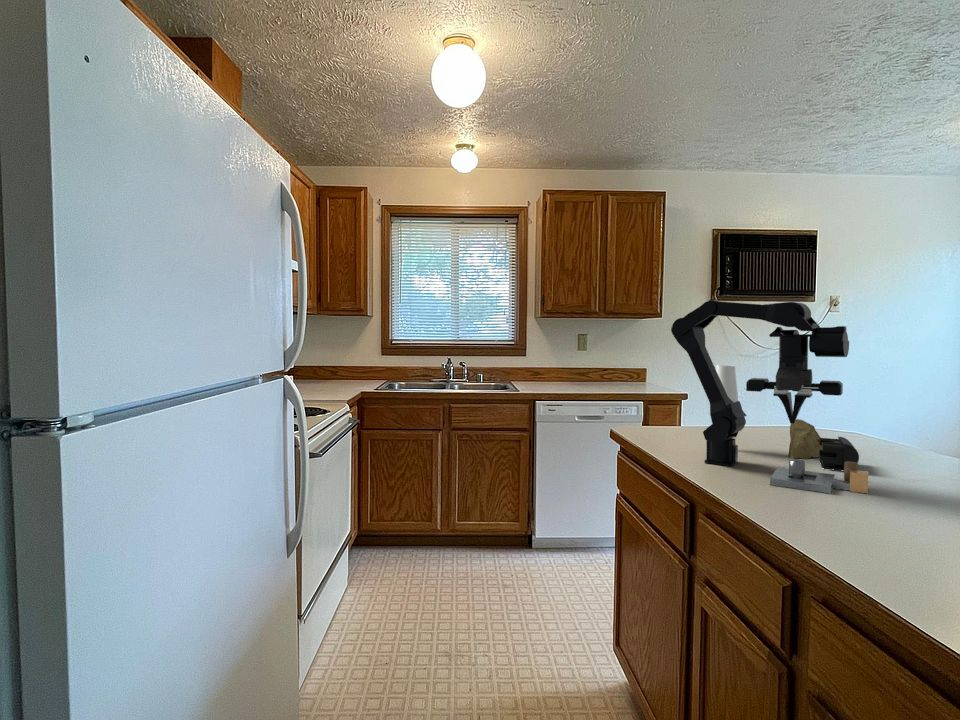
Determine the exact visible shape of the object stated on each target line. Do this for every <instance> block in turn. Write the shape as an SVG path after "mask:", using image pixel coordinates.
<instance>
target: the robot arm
mask: <svg viewBox="0 0 960 720" xmlns="http://www.w3.org/2000/svg"><path fill="white" fill-rule="evenodd" d="M718 316H720V317H728V318H729V317H730V318H739V319H740V318H743V319H752V320H761V321H765V322H768V323H771V324H775V325H777V327H775V329H774V330H773V331H772V332H771V333H769V337H770V338H779V340H778V341H779V343H778V344H779V345H778V348H779V349H778V369H777V372H776V375H775V381H770V380H769V378H764V377H763V378H762V377H760V378H759V377H751V378H749V379H748V380H747V381H746V385H745V387H746V389H745V391H747V392H762V391H763V390H773V391H774V392H773V394H772V395H773V396H774V397H778V399H779V400H780V401H781V403H782V405H783V407H784V409H785V412H786V415H787V418H788V420H789V423H790V424H791V423H793V424H794V423H795V421H796V420H797V419H798V415H799V413H800V411H801V409H802V406H803V404H804V402H805V401H806V399H808V398H812V397H813V392H820V393H821V394H822V395H824V396H842V395H843V393H844V391H843V390H844V389H843V388H844V385H843V382H842V381H840V380H824V379H823V380H821V381H819V383H818V382H816V383H815V382H814V383H813V371H812V368H810V369H809V364H808V363H809V361H808V360H809V352H810V353H812V354H814V356H815V357H817V358H819V357H820V358H821V357H822V358H831V357H832V358H833V357H834V358H847V357H848V354H849V350H850V341H849V336H848V332H847V326H846V325H840V326H838V325H837V326H832V327H831V326H829V327H821V326H820V325H819V324H818V322H817V321H816V320H815V319H814V318H813V317H812V312H811V309H810V307H809V306H808V305H807V304H806V303H803V302H795V301H787V302H775V303H767V304H756V303H747V302H746V303H745V302H730V301H720V300H715V299H708V300H706V301H704V302H703V303H702V304H701V305H700V306H698V307H697V308H695V309H693V310H692V311H690V312H688V314H686V315H684V316H683V317H680V318H677V319H676V320H674V321H673V323H672V325H671V328H670V329H671V330H670V331H671V334H672V336H673V337H674V339H675V340H676V342H677V343H678V345H680V347H681V348H682V349H683V350H684V351H685V352H686V353H687V354H688V356H689V358H690V359H689V360H690V361H691V363H692V365H693V368H694V370H695V372H696V375H697V377H698V379H699V382H700V383H701V386H702V389H703V391H704V393H705V395H706V397H707V399H708V402H709V416H710V420H711V425H709V426H708V427H707V428H706V429H704V430H703V431H702V433H703V436H704V440H705V441H706V456H705V457H706V459H705V460H704V461H703V463H706V464H713V465H720V466H727V467H728V466H729V467H732V466H733V465H735V464H736V463H737V462H738V459H739V453H738V452H739V445H738V444H736V439H737V436H738V434H739V433H740V431H742V430H743V429H744V428H745V426H746V424H747V423H746V421H747V420H746V417H747V414H746V412H745V411H744V410H743V408H742V404H741V402H740V401H739V400H738V401H737V402H733V401H732V400H731V399H730V398H729V397H728V396H727V393H726V391H725V389H724V387H723V385H722V382H721V380H720V378H719V376H718V374H717V371H716V367H715V365H714V362H713V361H712V358H711V357H710V354H709V351H708V349H707V347H706V334H705V331H704V330H705V328H707V327H708V326H710V325H711V323H712V322H713V321H714V320H715V319H716V318H717V317H718ZM778 325H779V326H778ZM781 326H782V327H786V328H795V329H784V328H782V327H781ZM799 331H800V332H811V333H806V334H805V333H804V334H801V333H800V332H799ZM791 391H792V392H797V393H796V394H794V401H792V399H793V398H792V397H793V396H792V392H791ZM793 402H794V403H793Z"/></svg>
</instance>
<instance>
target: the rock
mask: <svg viewBox="0 0 960 720" xmlns="http://www.w3.org/2000/svg"><path fill="white" fill-rule="evenodd" d="M789 437H790V440H789V441H790V442H789V445H788V446H789V447H788V458H790V457H791V458H790V459H792V458H794V459H812V458H811V457H814V458H820V457H819V450H823V445H819V441H820V438H822V437H821V436H820V434H819V433H818V432H817V430H816V428H815V426H814V425H813V424H810V423H809V422H807V421H805V420H803V419H800V418H799V419H798V418H797V419H796V421H795V423H794V424H793V423H790V426H789Z"/></svg>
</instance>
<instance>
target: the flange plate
mask: <svg viewBox="0 0 960 720" xmlns="http://www.w3.org/2000/svg"><path fill="white" fill-rule="evenodd" d="M769 485H770V486H774V487H782V488H789V489H795V488H796V489H797V490H802V489H803V491H808V490H810V491H809V492H815V491H817V492H816V493H822V492H824V493H823V494H829V493H831V494H832V492H833V489H832V488H835V489H834V490H839V489H844V490H843V491H846V490H850V491H855V492H854V493H857V492H861V493H860V494H864V493H867V494H866V495H868V494H869V493H868V492H869V471H868V470H859V469H858V470H852V469H851V470H850V481H844V479H835V474H834V473H833V474H831V473H826V472H825V473H824V472H818V471H811V470H809V471H808V470H805V479H798V478H791V477H789V468H785V467H776V469H775V471H774V472H773V474H772V475H771V477H770V478H769ZM796 489H795V490H796ZM831 491H832V492H831ZM850 491H849V492H850Z"/></svg>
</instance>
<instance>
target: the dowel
mask: <svg viewBox="0 0 960 720" xmlns="http://www.w3.org/2000/svg"><path fill="white" fill-rule="evenodd" d="M851 469H852V470H859V462H858V463H856V462H850V461H846V462H844V471H843V473H844V474H843V480H844V481H850V470H851Z"/></svg>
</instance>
